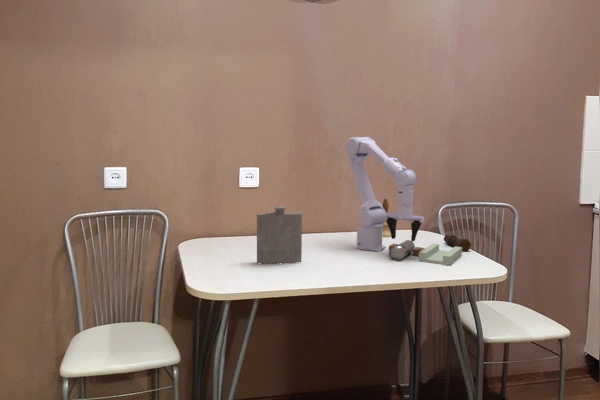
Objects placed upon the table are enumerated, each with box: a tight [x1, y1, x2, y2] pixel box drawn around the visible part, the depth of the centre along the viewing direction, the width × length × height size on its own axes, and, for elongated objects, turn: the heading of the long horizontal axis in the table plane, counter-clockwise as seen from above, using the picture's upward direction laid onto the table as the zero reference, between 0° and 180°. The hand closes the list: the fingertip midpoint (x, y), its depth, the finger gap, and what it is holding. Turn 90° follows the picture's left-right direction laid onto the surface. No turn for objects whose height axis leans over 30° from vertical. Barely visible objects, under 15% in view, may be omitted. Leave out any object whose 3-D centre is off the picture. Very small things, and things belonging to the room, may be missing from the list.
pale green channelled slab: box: [418, 243, 463, 266], centre depth 210 cm, size 11×16×3 cm
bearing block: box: [388, 243, 426, 257], centre depth 216 cm, size 13×4×2 cm, turn 60°
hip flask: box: [256, 205, 303, 265], centre depth 200 cm, size 16×4×20 cm, turn 101°
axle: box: [388, 239, 416, 262], centre depth 212 cm, size 14×5×5 cm, turn 150°
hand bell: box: [382, 198, 392, 238], centre depth 246 cm, size 8×8×16 cm
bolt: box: [443, 234, 472, 253], centre depth 227 cm, size 6×5×15 cm
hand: (403, 239), depth 212 cm, fingers open, 7 cm apart
